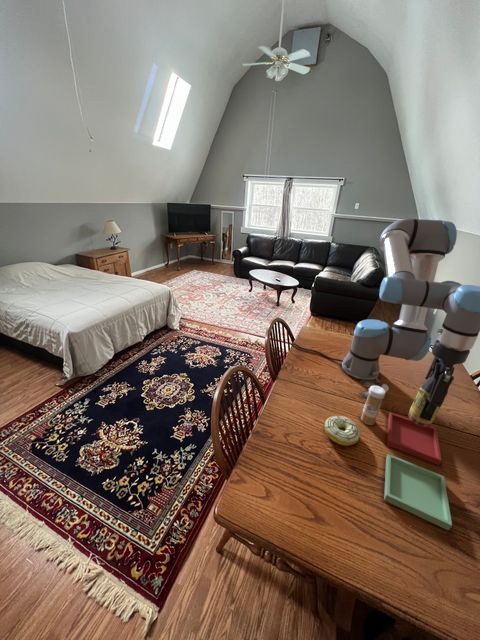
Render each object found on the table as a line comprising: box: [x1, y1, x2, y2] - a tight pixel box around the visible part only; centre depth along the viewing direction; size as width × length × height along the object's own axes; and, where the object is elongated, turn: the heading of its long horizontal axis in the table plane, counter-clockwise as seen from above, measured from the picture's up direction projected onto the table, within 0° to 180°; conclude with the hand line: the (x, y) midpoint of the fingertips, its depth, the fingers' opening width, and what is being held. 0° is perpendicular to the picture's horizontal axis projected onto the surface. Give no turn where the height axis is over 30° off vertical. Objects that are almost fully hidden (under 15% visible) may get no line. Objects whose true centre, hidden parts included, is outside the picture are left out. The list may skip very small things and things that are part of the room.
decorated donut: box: [323, 415, 361, 447], centre depth 85 cm, size 10×11×4 cm
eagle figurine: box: [359, 377, 390, 400], centre depth 103 cm, size 8×7×9 cm
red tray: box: [386, 412, 442, 466], centre depth 85 cm, size 14×14×2 cm
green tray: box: [383, 453, 453, 531], centre depth 70 cm, size 14×14×2 cm
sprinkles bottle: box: [360, 385, 386, 426], centre depth 89 cm, size 5×5×14 cm
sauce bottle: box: [407, 371, 454, 427], centre depth 78 cm, size 6×6×20 cm
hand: (423, 410), depth 80 cm, fingers closed on sauce bottle, 6 cm apart
